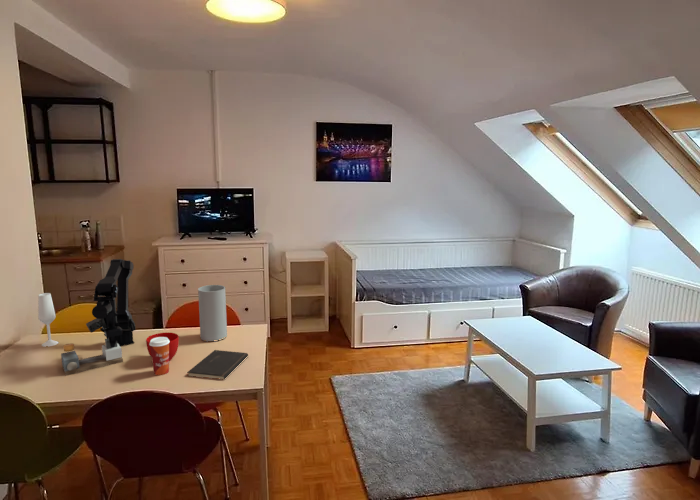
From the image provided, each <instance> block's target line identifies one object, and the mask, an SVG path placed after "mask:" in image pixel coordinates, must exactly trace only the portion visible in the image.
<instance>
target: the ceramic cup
mask: <svg viewBox="0 0 700 500" xmlns="http://www.w3.org/2000/svg"><path fill="white" fill-rule="evenodd" d="M156 337H167V338H168V339H169V341H170V343H169V362H170V361H172V360H173V358H174V357H175V355H176V354H177V352H178V349H179V340H180V338H179V334H177V333H175V332H158V333H155V334H152V335H149V336H148V337H147V338H146V339H145V342H146V348H147V352H148V354H149V356H150V358H152V355H151V348H150V345H149V343H150V340H151V339H153V338H156Z"/></svg>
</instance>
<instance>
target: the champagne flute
mask: <svg viewBox="0 0 700 500" xmlns="http://www.w3.org/2000/svg"><path fill="white" fill-rule="evenodd" d="M37 297H38V300H37V301H38V302H37V305H38V306H37V307H38V309H37V310H38V311H37V312H38V313H37V317H38V320H39V321H40V322H41V323H42V324H44V325H46V332H47V340H46V341H45V342H43V343H42V344H41V347H44V348H45V347H46V346H48V347H54V346H56V345H58V344H59V341H56V340H53V339H52V335H51V323H52V322H53V321H54V320H55V319H56V315H57V314H56V310H55V306H54V303H53V298H52V294H51V292H44V293H39V294H38V295H37Z"/></svg>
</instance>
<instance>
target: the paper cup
mask: <svg viewBox="0 0 700 500" xmlns="http://www.w3.org/2000/svg"><path fill="white" fill-rule="evenodd" d="M169 343H170V341H169V339H168V338H167V337H156V338H153V339H151V340H150V343H149V345H150V348H151V355H152V357H151V360H152V361H151V362H152V368H153V374H154V375H155V376H164V375H167V374H169V372H170V361H169Z"/></svg>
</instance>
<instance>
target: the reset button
mask: <svg viewBox="0 0 700 500" xmlns="http://www.w3.org/2000/svg"><path fill="white" fill-rule="evenodd" d="M62 348H63V352H64V353H66V352H71V351H75V344H74V343H66V344H64V345H63V347H62Z"/></svg>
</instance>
